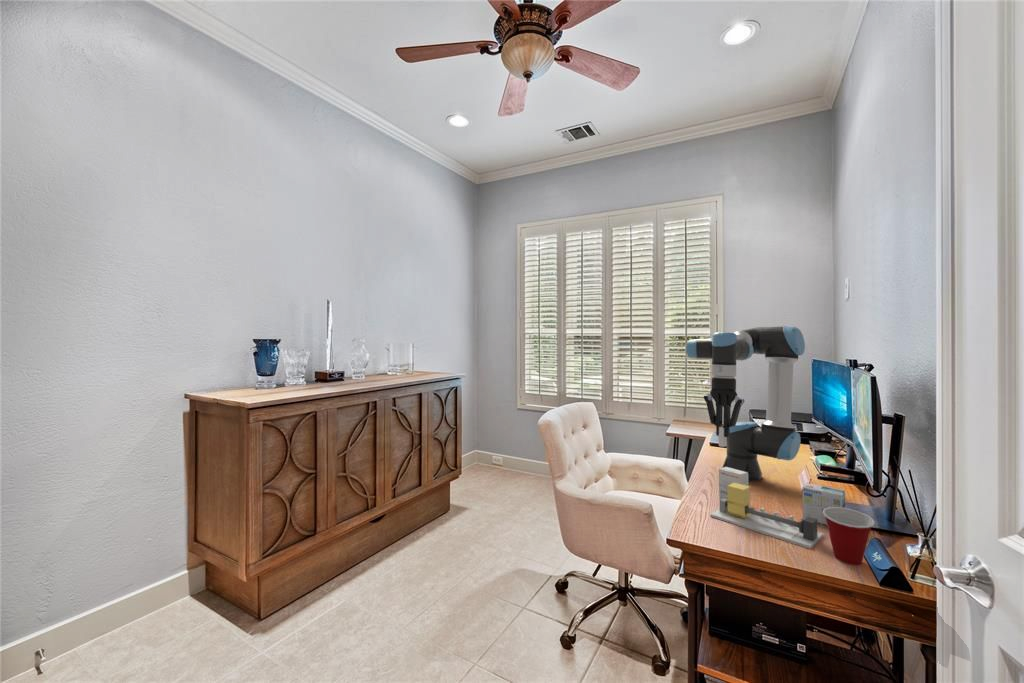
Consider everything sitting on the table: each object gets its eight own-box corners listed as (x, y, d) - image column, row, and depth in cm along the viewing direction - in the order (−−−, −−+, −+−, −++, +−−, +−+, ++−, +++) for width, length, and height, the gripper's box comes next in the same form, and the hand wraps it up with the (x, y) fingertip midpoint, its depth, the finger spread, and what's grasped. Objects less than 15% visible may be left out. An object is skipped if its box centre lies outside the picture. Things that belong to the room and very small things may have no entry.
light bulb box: (846, 523, 133) (846, 489, 133) (843, 529, 128) (843, 495, 128) (805, 513, 140) (805, 481, 140) (801, 519, 135) (801, 486, 135)
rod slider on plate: (710, 516, 137) (710, 498, 137) (726, 507, 145) (726, 490, 145) (810, 549, 116) (810, 527, 116) (823, 536, 123) (823, 516, 123)
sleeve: (727, 513, 137) (727, 485, 137) (733, 509, 140) (733, 482, 140) (743, 518, 133) (743, 489, 133) (749, 514, 136) (749, 486, 136)
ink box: (749, 505, 147) (749, 472, 147) (742, 508, 144) (742, 474, 144) (725, 497, 154) (725, 466, 154) (718, 500, 151) (718, 468, 151)
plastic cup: (823, 562, 109) (823, 516, 109) (821, 545, 118) (821, 503, 118) (877, 575, 103) (878, 527, 103) (871, 557, 112) (871, 512, 112)
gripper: (699, 376, 145) (698, 443, 144) (739, 378, 135) (738, 451, 134) (709, 375, 149) (708, 441, 149) (748, 378, 139) (747, 448, 139)
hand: (722, 445), depth 142 cm, fingers closed
